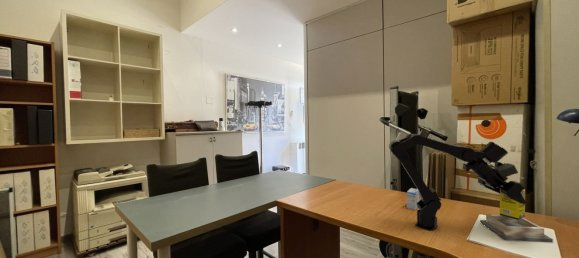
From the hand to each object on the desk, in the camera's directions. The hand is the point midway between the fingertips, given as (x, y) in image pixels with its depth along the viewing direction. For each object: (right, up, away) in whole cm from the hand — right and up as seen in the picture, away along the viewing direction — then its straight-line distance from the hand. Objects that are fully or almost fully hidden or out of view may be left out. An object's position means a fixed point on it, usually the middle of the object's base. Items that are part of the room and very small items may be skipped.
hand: (516, 199), depth 93 cm
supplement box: (-1, -7, +1) cm, 7 cm away
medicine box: (-25, -13, +30) cm, 41 cm away
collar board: (-1, -13, +1) cm, 13 cm away
